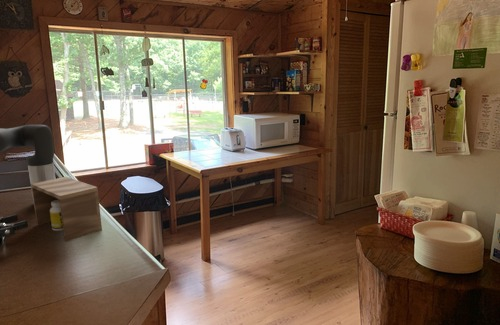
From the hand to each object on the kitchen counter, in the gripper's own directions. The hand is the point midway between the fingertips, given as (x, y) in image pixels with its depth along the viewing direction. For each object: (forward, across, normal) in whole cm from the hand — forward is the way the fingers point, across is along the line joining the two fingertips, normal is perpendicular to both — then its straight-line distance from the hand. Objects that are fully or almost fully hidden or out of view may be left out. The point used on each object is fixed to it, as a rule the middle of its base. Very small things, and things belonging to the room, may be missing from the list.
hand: (22, 220), depth 115 cm
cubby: (+13, -1, +6) cm, 15 cm away
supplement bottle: (+11, 0, +6) cm, 13 cm away
